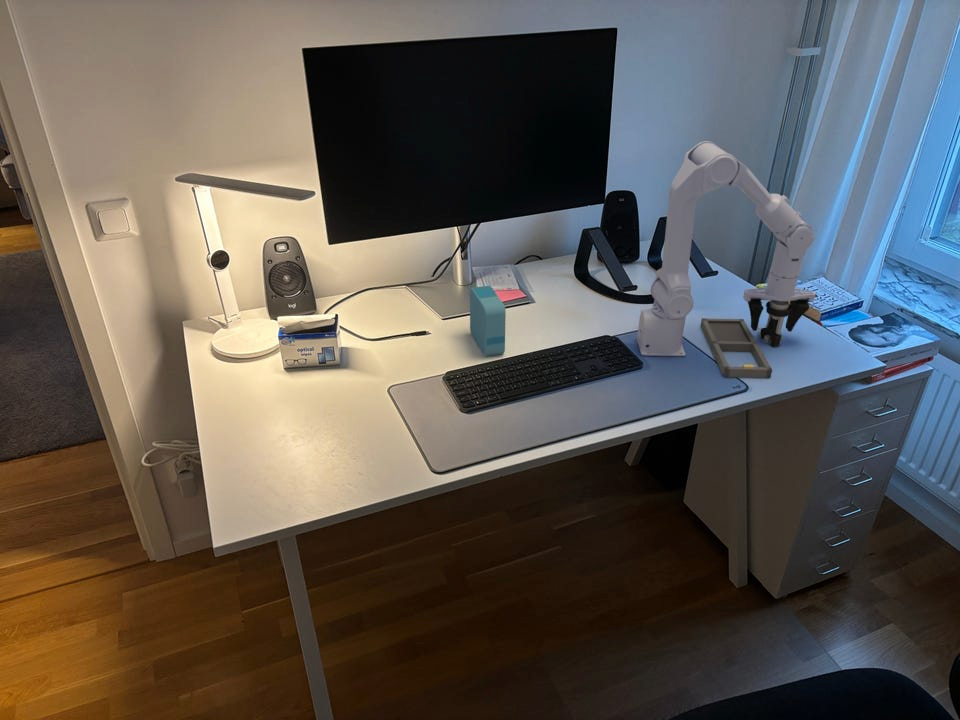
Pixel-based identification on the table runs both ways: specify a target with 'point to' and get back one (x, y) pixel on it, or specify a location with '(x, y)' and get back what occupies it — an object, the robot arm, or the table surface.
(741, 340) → the shallow brown tray
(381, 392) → the table surface
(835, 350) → the table surface
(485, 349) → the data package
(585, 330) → the table surface
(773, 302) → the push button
